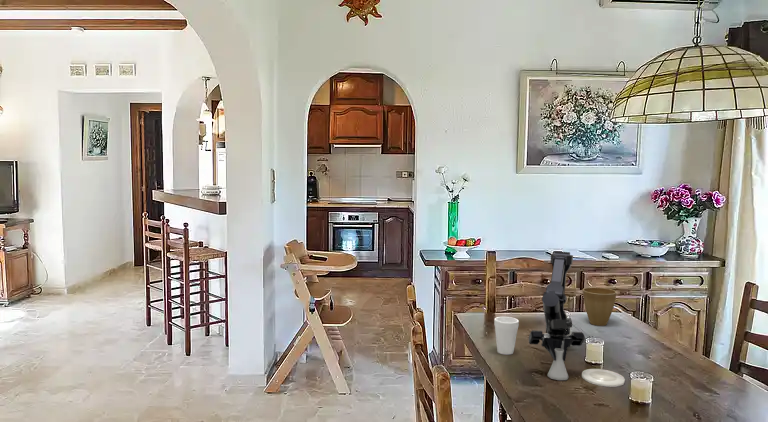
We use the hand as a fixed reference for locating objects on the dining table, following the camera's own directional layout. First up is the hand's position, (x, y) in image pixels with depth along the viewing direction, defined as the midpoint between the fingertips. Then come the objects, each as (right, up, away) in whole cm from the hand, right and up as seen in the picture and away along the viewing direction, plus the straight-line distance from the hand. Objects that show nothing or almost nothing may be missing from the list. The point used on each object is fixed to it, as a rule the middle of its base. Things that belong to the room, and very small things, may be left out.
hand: (559, 360), depth 198 cm
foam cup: (-13, -4, +28) cm, 31 cm away
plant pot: (+40, -1, +70) cm, 80 cm away
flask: (0, -7, +2) cm, 7 cm away
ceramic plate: (+15, -7, +1) cm, 17 cm away
